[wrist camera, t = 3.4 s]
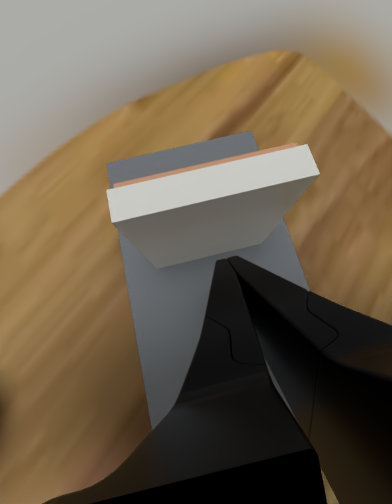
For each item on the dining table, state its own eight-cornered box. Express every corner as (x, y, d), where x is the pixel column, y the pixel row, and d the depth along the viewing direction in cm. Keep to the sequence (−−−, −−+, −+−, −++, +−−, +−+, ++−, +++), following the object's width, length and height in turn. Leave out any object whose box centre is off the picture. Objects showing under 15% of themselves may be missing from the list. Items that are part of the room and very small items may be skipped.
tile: (261, 243, 16) (320, 174, 8) (156, 268, 15) (111, 222, 8) (254, 222, 16) (304, 137, 8) (152, 247, 16) (105, 182, 8)
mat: (345, 406, 14) (354, 411, 13) (160, 457, 13) (158, 465, 13) (249, 138, 19) (251, 130, 18) (110, 169, 18) (106, 163, 17)
